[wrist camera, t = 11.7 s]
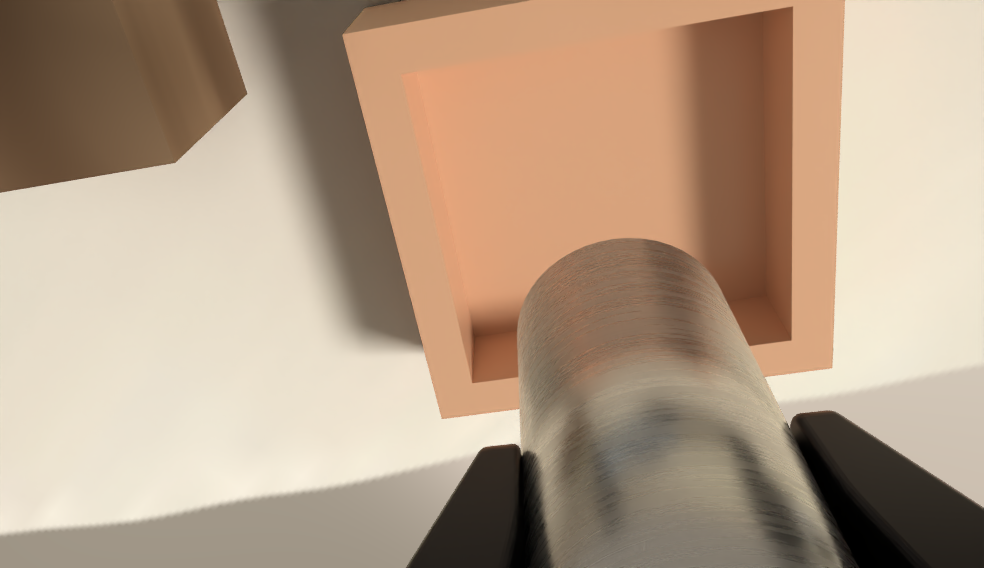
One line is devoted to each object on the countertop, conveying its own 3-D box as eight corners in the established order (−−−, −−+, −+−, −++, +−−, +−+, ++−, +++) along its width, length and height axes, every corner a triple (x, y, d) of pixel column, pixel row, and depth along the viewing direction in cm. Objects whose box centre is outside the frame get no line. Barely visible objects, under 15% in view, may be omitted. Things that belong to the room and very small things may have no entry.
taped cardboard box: (175, -128, 18) (41, -117, 13) (248, 93, 20) (159, 177, 15) (-32, -85, 18) (-241, -56, 13) (62, 125, 21) (-84, 218, 16)
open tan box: (796, -72, 18) (846, -58, 15) (794, 307, 23) (832, 368, 20) (365, 7, 19) (341, 34, 16) (449, 355, 24) (441, 419, 21)
